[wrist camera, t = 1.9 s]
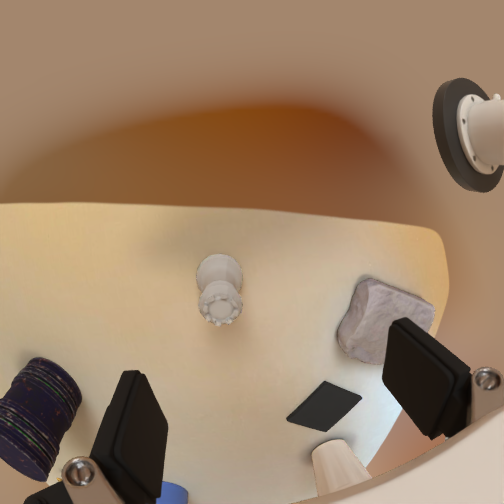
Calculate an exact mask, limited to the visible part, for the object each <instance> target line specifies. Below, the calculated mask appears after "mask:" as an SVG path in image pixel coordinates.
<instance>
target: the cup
mask: <svg viewBox="0 0 504 504" xmlns="http://www.w3.org/2000/svg"><path fill="white" fill-rule="evenodd" d="M311 455H312V461H313V468H314V474H315V480H316V487H317V493H318V497H319V496H323V495H326V494H329V493H333V492H336V491H339V490H342V489H345V488H348V487H351V486H353V485H356V484H359V483H362V482H364V481H367V480H369V479H372V477H371V475H370V474H369V473H368V472H367V470H366V469H365V467H364V466H363V465H362V464H361V462H360V461H359V460H358V458H357V457H356V456H355V454H354V453H353V452H352V450H351V449H350V447H349V446H348V445H347V443H346V442H345V441H344V440H340V439H337V440H331V441H328V442H325V443H323V444H321V445H319V446H318V447H317V448H316V449H314V450H313V452H312V454H311Z"/></svg>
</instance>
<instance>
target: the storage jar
mask: <svg viewBox="0 0 504 504" xmlns="http://www.w3.org/2000/svg"><path fill="white" fill-rule="evenodd" d="M81 400H82V397H81V392H80V390H79V388H78V386H77V384H76V383H75V381H74V380H73V379H72V377H71V376H70V375H69V374H68V373H67V372H66V371H65V370H64V369H62V368H61V367H60V366H58V365H57V364H55V363H54V362H52V361H50V360H48V359H45V358H33V359H31V360H30V361H29V363H28V364H27V366H25V367H24V368H23V369H22V370H21V371H20V372H19V373H18V375H17V376H16V377H15V378H14V380H13V382H12V384H11V388H10V389H9V390H8V392H7V393H6V394H5V396H4V397H3V398H1V399H0V458H1V459H3V460H4V461H5V462H6V463H7V464H9V465H10V466H11V467H13V468H14V469H16V470H17V471H18V472H20V473H22V474H23V475H25V476H27V477H29V478H31V479H33V480H36V481H40V482H46V481H47V478H48V476H49V474H48V473H50V471H51V468H52V467H53V466H54V463H55V461H56V457H57V455H58V454H59V449H60V446H59V444H60V442H61V440H62V438H63V435H64V433H65V432H66V431H67V430H68V429H69V428H70V427H71V424H72V422H73V420H74V418H75V416H76V412H77V410H78V407H79V406H80V404H81Z"/></svg>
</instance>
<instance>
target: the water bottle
mask: <svg viewBox="0 0 504 504" xmlns="http://www.w3.org/2000/svg"><path fill="white" fill-rule="evenodd" d="M156 504H188V492H187V490H186V489H184V488H183V487H181V486H178V485H176V484H173V483H169V482H163V481H162V490H161V497H160V498H157V500H156Z"/></svg>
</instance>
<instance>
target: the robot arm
mask: <svg viewBox="0 0 504 504" xmlns="http://www.w3.org/2000/svg"><path fill="white" fill-rule="evenodd" d="M456 120H457V130H458V136H459V140H460V143H461V146H462V149H463V152H464V154H465V156H466V158H467V160H468V161H469V163H470V164H471V166H472V167H473V168H474V169H475V170H476V171H477V172H479V173H481V174H492V173H494V172H495V171H496V170H497V168H498V166H499V165H504V100H500V96H499V95H498V94H494V96H493V100H488V101H484V100H483V99H482V98H481V97H479V96H477V95H472V94H471V95H466V96H464V97H463V98H462V99H461V100H460V102H459V105H458V108H457V118H456ZM469 372H470V367H468V366H467V365H466V364H465V363H464V362H462V361H461V360H460V359H459V358H458V357H456V356H455V355H454V354H452V352H450V351H449V350H448V349H447V348H446V347H444V346H443V345H442V344H440V343H439V342H438V341H437V340H435V339H434V338H433V337H432V336H431V335H429V334H428V333H427V332H426V331H424V330H423V329H422V328H420V327H419V326H418V325H417V324H415V323H414V322H413V321H412V320H410V319H409V318H407V317H403V318H400V319H397V320H394V321H393V322H392V325H391V326H390V327H389V330H388V339H387V347H386V354H385V361H384V368H383V374H382V380H383V383H384V385H385V386H386V387H387V389H388V390H389V391H390V392H391V394H392V395H393V396H394V397H395V399H396V400H397V401H398V403H399V404H400V405H401V406H402V408H403V409H404V410H405V412H406V413H407V414H408V415H409V417H410V418H411V419H412V420H413V422H414V423H415V425H416V426H417V427H418V428H419V430H420V431H421V432H422V434H423V435H425V436H427V435H428V437H429V438H430V439H431V440H433V439H435V438H436V437H438V436H440V435H441V434H442V433H443V434H444V435H445V442H443V443H441V444H440V445H438V446H436V447H434V448H433V449H431V450H429V451H428V452H426V453H424V454H422V455H420V456H419V457H417V458H415V459H413V460H411V461H409V462H407V463H405V464H403V465H401V466H399V467H397V468H395V469H392V470H390V471H388V472H386V473H384V474H381V475H379V476H376V477H374V478H372V479H369V480H367V481H364V482H362V483H359V484H356V485H353V486H351V487H348V488H345V489H342V490H339V491H336V492H333V493H329V494H326V495H323V496H319V497H315V498H312V499H308V500H304V501H300V502H295V503H291V504H504V378H503V376H502V374H501V373H500V372H499V371H498V370H496V369H494V368H491V367H482V368H479V369H477V370H476V371H474V373H473V374H471V373H469ZM167 435H168V423H167V420H166V418H165V416H164V414H163V412H162V410H161V408H160V406H159V404H158V402H157V400H156V398H155V395H154V393H153V391H152V389H151V387H150V384H149V382H148V380H147V378H146V376H145V374H141V373H140V371H139V370H130V371H123V373H122V375H121V378H120V380H119V383H118V385H117V388H116V390H115V393H114V395H113V398H112V400H111V403H110V405H109V406H108V407H107V409H106V412H105V414H104V417H103V420H102V422H101V425H100V428H99V431H98V433H97V436H96V439H95V442H94V445H93V448H92V450H91V453H90V456H89V458H88V457H84V456H80V457H75V458H72V459H71V460H69V461H68V462H67V463H66V464H65V465H64V467H63V469H62V474H61V475H62V480H61V481H59V482H58V483H56V484H54V485H51V486H49V487H47V488H45V489H43V490H41V491H39V492H37V493H35V494H32V495H31V496H29V497H27V499H26V500H25V501H24V504H156V500H157V498H160V497H161V490H162V479H163V469H164V460H165V451H166V443H167Z"/></svg>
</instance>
